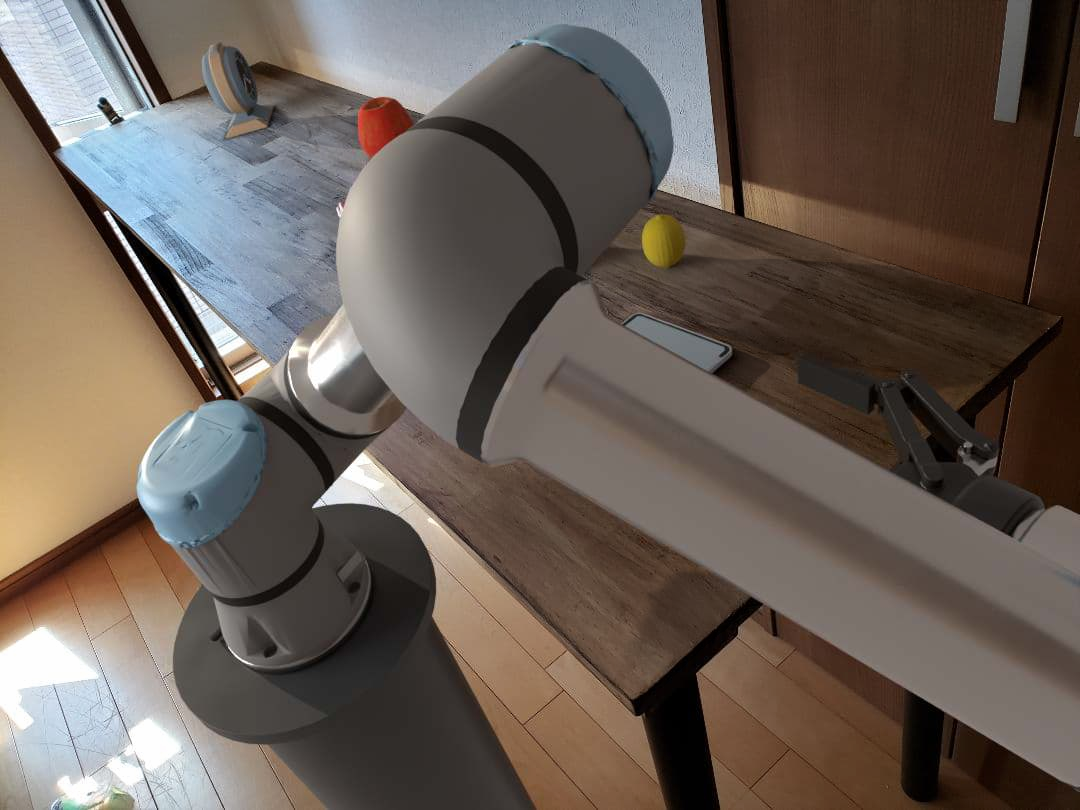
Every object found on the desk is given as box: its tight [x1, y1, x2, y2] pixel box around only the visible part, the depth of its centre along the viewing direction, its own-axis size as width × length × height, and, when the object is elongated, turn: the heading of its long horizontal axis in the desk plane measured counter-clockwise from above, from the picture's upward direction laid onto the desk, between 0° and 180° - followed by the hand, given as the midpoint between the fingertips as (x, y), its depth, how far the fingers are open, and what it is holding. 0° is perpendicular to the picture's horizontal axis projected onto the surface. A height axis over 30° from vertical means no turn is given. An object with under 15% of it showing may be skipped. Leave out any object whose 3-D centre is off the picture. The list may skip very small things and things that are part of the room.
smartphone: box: [621, 312, 733, 374], centre depth 99 cm, size 7×1×15 cm
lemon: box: [641, 213, 686, 269], centre depth 109 cm, size 6×6×8 cm
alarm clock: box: [201, 42, 274, 140], centre depth 187 cm, size 14×10×18 cm
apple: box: [357, 96, 415, 159], centre depth 157 cm, size 11×11×11 cm
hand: (745, 414), depth 66 cm, fingers open, 13 cm apart
